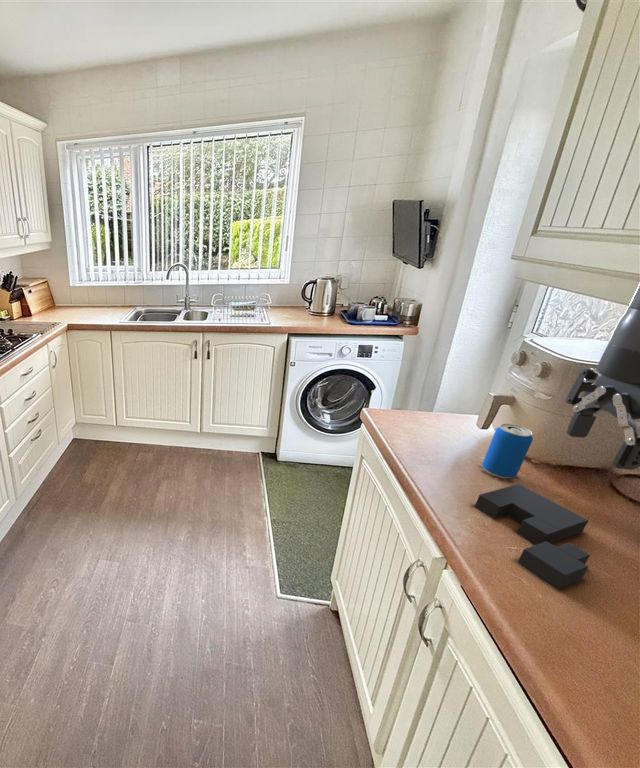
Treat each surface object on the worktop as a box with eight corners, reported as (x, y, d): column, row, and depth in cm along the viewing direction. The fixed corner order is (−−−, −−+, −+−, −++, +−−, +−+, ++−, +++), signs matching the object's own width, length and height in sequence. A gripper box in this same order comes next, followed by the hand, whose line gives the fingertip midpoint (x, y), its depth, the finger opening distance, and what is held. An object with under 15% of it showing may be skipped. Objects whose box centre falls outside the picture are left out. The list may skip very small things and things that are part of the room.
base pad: (513, 495, 90) (518, 483, 89) (581, 532, 80) (589, 520, 78) (474, 506, 87) (479, 494, 86) (540, 547, 76) (547, 534, 75)
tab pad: (552, 549, 76) (558, 536, 75) (593, 574, 71) (601, 561, 69) (517, 561, 73) (523, 548, 72) (557, 588, 68) (565, 575, 67)
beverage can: (509, 468, 99) (528, 425, 94) (520, 483, 94) (540, 439, 89) (477, 462, 102) (493, 420, 97) (485, 476, 96) (503, 433, 92)
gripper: (754, 366, 45) (678, 484, 51) (640, 331, 58) (590, 429, 64) (669, 362, 47) (605, 476, 53) (576, 328, 59) (534, 424, 66)
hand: (597, 450), depth 59 cm, fingers open, 8 cm apart
